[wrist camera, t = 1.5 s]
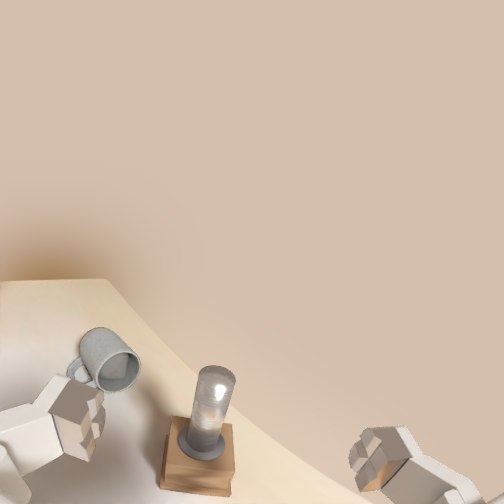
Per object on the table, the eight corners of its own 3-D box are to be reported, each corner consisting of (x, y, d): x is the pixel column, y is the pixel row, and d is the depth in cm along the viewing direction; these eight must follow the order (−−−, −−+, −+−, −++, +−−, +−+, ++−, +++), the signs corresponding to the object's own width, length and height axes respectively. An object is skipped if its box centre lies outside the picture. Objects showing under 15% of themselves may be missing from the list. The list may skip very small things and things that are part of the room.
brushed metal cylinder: (186, 450, 25) (198, 386, 22) (187, 428, 28) (199, 362, 25) (216, 454, 25) (236, 391, 23) (216, 432, 29) (234, 368, 26)
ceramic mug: (115, 354, 45) (115, 317, 42) (141, 384, 40) (142, 346, 38) (61, 370, 36) (54, 331, 34) (81, 406, 32) (74, 366, 30)
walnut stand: (159, 488, 24) (160, 464, 22) (166, 439, 32) (168, 409, 30) (229, 496, 25) (241, 473, 24) (226, 447, 33) (236, 419, 31)
